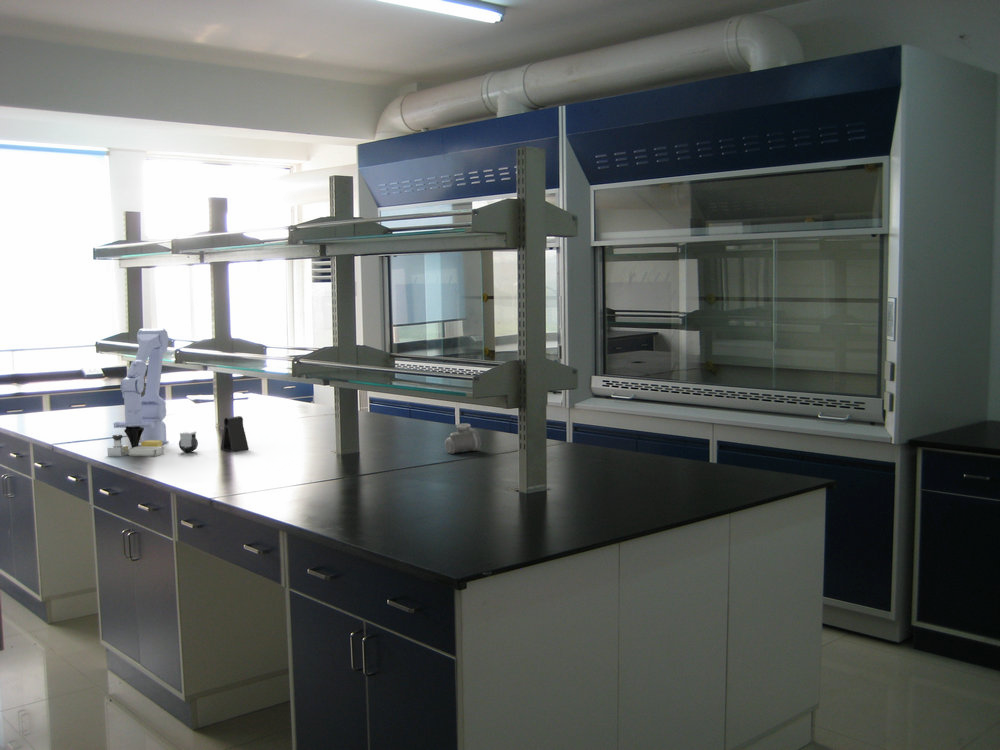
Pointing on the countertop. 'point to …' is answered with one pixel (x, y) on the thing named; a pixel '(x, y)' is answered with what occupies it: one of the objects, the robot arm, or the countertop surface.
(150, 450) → the tray
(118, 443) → the stop pin
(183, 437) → the castor
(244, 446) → the phone stand
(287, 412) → the countertop surface
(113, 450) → the socket block
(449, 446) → the pipe fitting
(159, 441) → the block
